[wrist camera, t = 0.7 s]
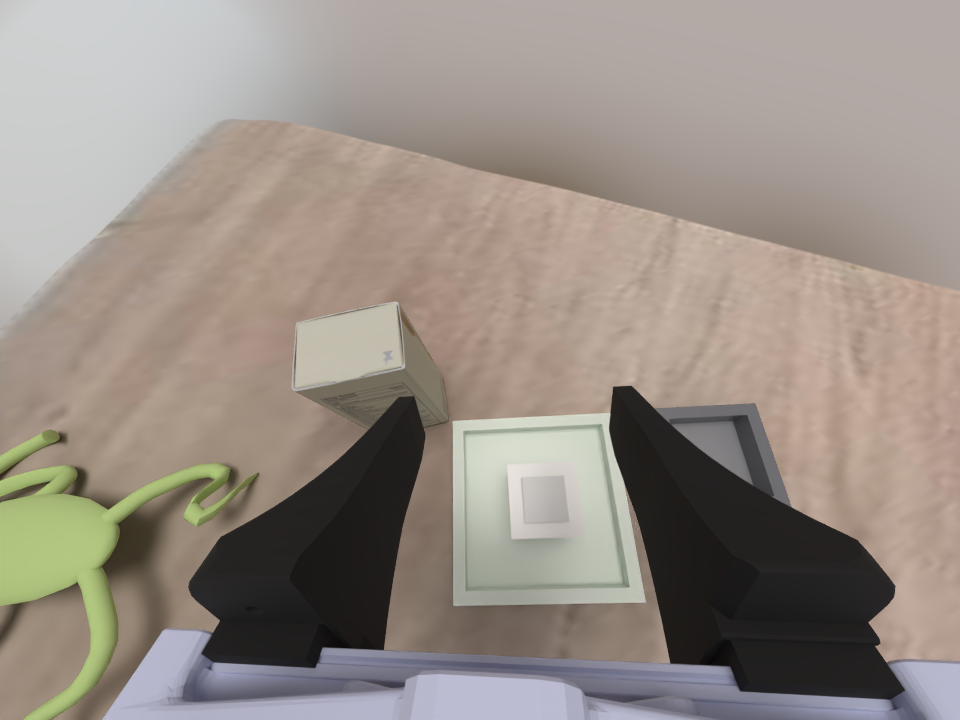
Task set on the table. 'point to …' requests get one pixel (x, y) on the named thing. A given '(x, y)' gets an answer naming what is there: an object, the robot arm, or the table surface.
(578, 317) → the table surface
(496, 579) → the tray
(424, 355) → the skincare box
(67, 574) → the figurine
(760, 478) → the strip
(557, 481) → the plug
